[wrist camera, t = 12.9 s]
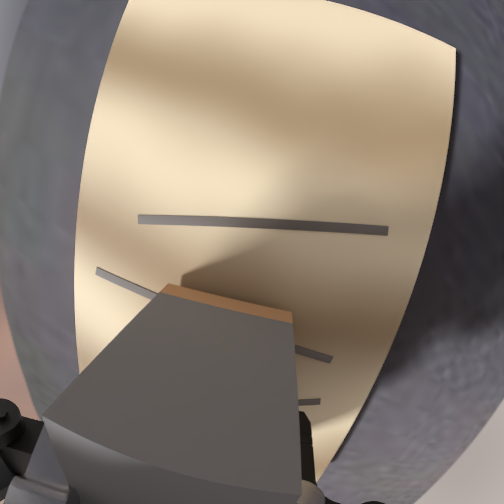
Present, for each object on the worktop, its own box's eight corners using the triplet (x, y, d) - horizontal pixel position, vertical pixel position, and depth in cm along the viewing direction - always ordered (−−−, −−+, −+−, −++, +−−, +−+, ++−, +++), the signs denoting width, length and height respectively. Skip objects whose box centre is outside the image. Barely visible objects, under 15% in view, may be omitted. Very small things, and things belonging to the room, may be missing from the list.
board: (145, 2, 9) (133, -12, 8) (441, 57, 8) (456, 48, 7) (97, 413, 14) (87, 427, 12) (313, 467, 13) (315, 484, 12)
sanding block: (168, 283, 10) (41, 415, 3) (291, 312, 10) (302, 494, 3) (157, 428, 11) (102, 546, 5) (247, 451, 11) (227, 582, 5)
